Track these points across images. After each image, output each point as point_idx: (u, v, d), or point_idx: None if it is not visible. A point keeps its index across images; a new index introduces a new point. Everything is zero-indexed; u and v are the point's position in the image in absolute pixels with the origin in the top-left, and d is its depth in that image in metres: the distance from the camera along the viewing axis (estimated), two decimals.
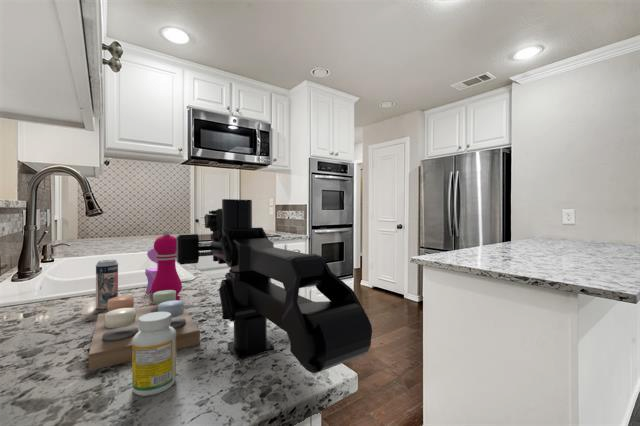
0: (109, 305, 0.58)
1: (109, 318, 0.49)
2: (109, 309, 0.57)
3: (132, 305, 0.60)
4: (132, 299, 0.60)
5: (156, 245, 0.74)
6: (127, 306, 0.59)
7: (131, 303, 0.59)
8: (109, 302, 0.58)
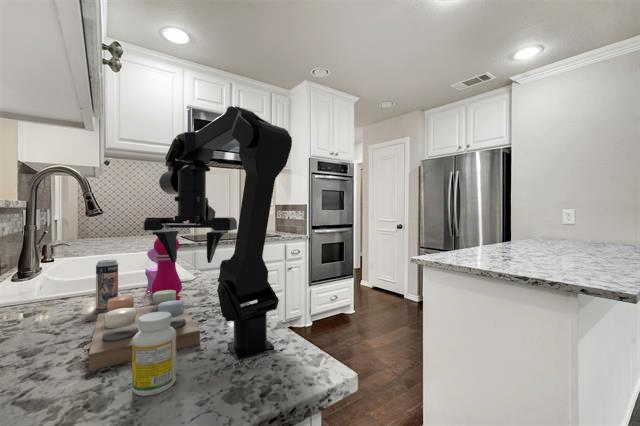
0: (109, 305, 0.58)
1: (109, 318, 0.49)
2: (109, 309, 0.57)
3: (132, 305, 0.60)
4: (132, 299, 0.60)
5: (156, 245, 0.74)
6: (127, 306, 0.59)
7: (131, 303, 0.59)
8: (109, 302, 0.58)
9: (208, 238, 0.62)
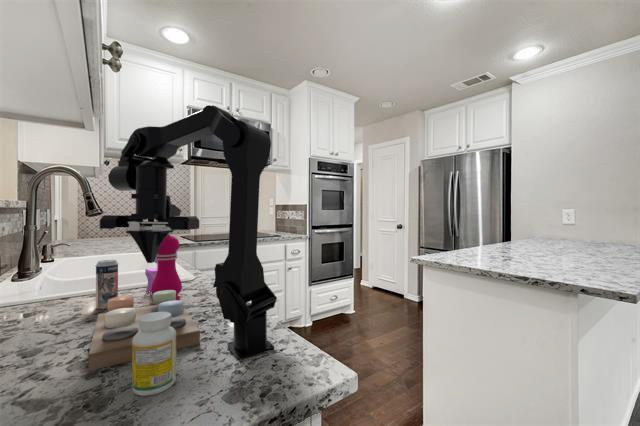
0: (109, 305, 0.58)
1: (109, 318, 0.49)
2: (109, 309, 0.57)
3: (132, 305, 0.60)
4: (132, 299, 0.60)
5: None
6: (127, 306, 0.59)
7: (131, 303, 0.59)
8: (109, 302, 0.58)
9: (147, 237, 0.59)
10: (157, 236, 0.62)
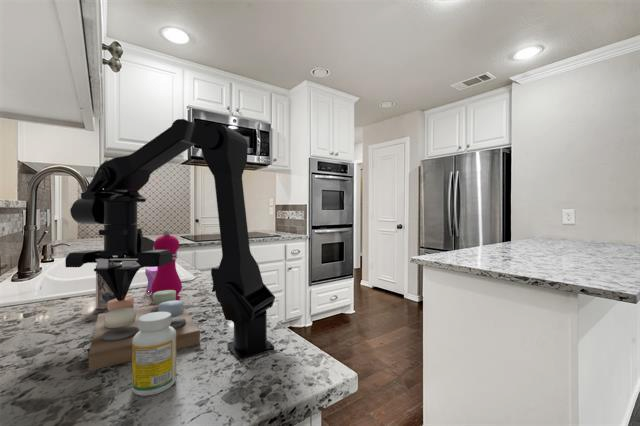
0: (109, 307, 0.58)
1: (109, 318, 0.49)
2: None
3: (132, 307, 0.60)
4: (132, 301, 0.60)
5: (156, 245, 0.74)
6: None
7: (131, 305, 0.59)
8: (109, 304, 0.58)
9: (117, 275, 0.57)
10: (128, 272, 0.60)
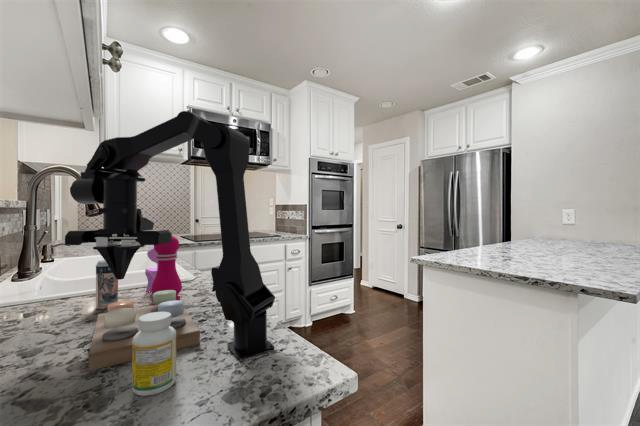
0: (109, 310, 0.57)
1: (109, 318, 0.49)
2: None
3: None
4: (132, 304, 0.60)
5: (156, 245, 0.74)
6: None
7: None
8: (109, 307, 0.58)
9: (116, 253, 0.57)
10: (127, 251, 0.60)
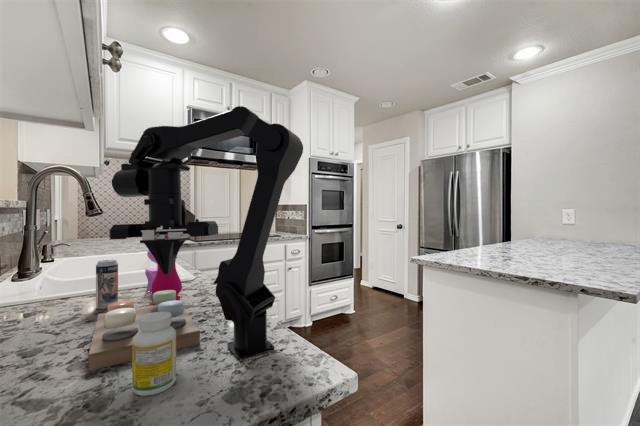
0: (109, 310, 0.57)
1: (109, 318, 0.49)
2: None
3: None
4: (132, 304, 0.60)
5: None
6: None
7: None
8: (109, 307, 0.58)
9: (164, 246, 0.54)
10: (173, 245, 0.57)
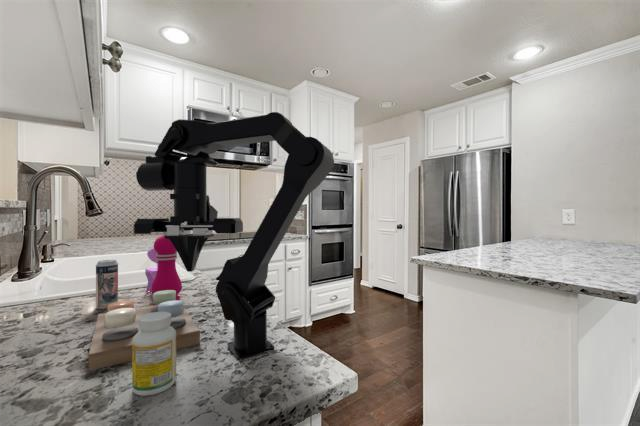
0: (109, 310, 0.57)
1: (109, 318, 0.49)
2: None
3: None
4: (132, 304, 0.60)
5: (156, 245, 0.74)
6: None
7: None
8: (109, 307, 0.58)
9: (189, 242, 0.52)
10: (197, 241, 0.55)
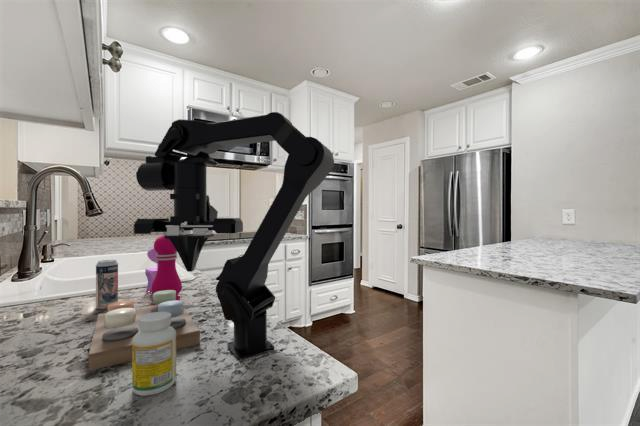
0: (109, 310, 0.57)
1: (109, 318, 0.49)
2: None
3: None
4: (132, 304, 0.60)
5: (156, 245, 0.74)
6: None
7: None
8: (109, 307, 0.58)
9: (189, 242, 0.52)
10: (197, 241, 0.55)
